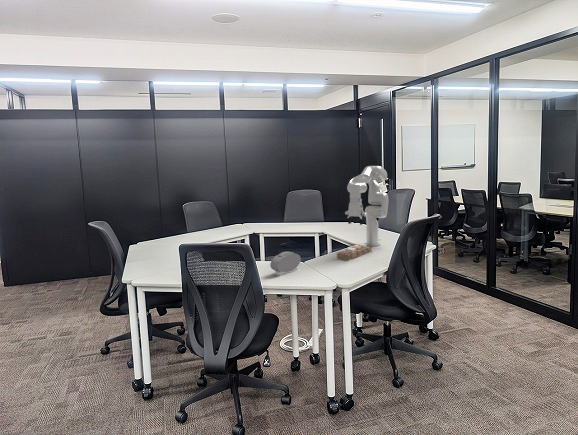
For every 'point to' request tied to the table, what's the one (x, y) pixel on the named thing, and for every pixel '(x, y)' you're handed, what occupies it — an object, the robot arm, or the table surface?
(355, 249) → the cream key
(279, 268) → the alarm clock
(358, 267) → the table surface
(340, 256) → the console
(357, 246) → the terracotta key
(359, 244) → the sage key
